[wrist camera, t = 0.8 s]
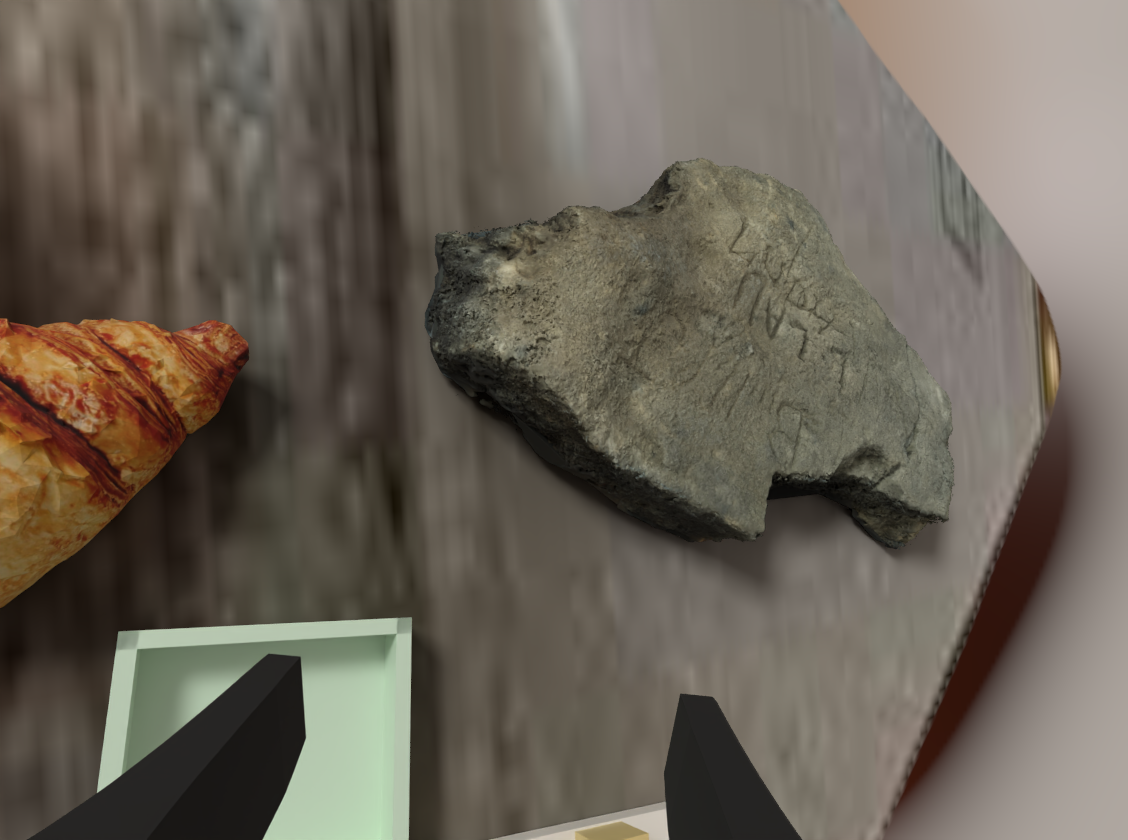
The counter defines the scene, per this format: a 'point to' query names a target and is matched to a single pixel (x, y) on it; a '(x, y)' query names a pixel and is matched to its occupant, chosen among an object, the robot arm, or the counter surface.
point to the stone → (698, 358)
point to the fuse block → (607, 827)
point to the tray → (331, 705)
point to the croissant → (94, 426)
